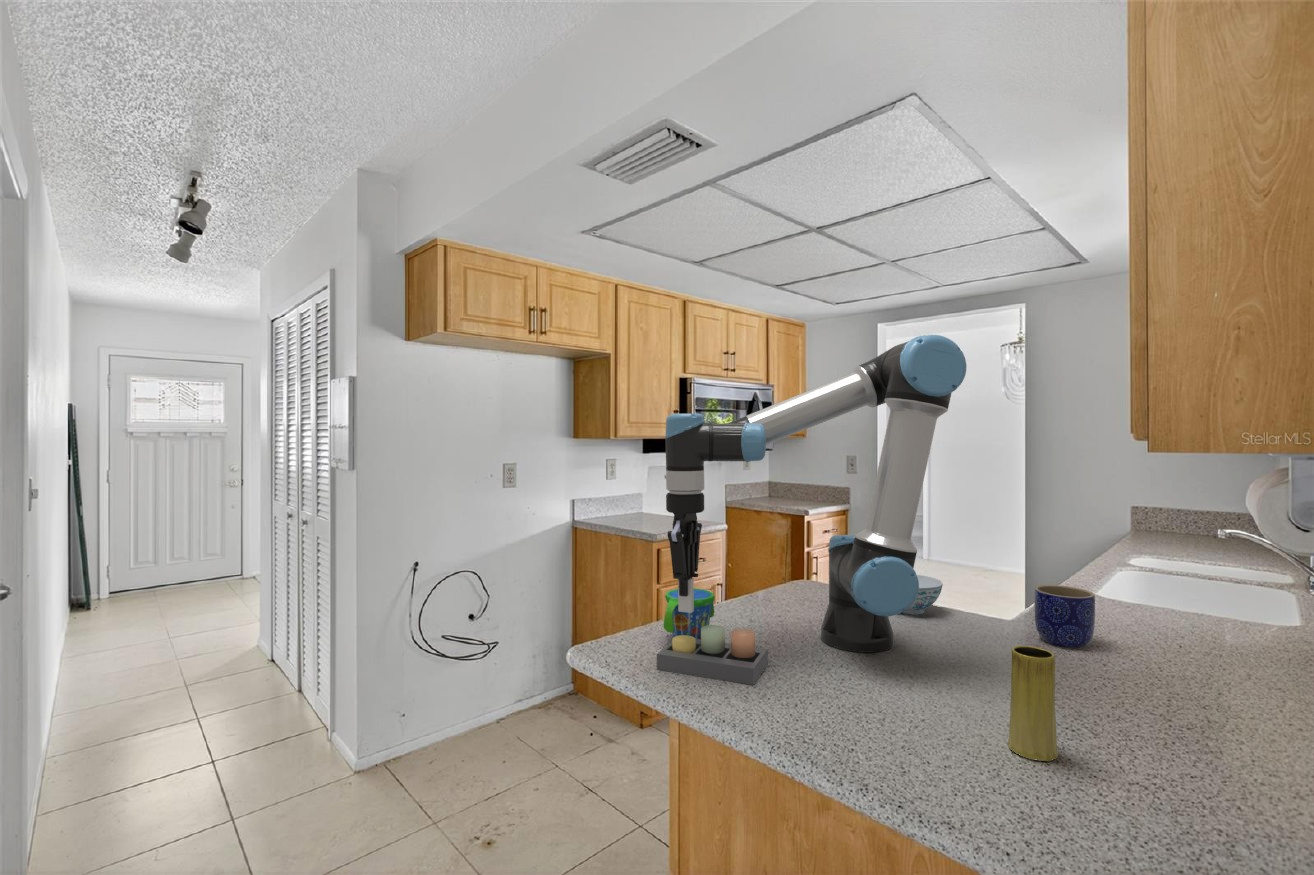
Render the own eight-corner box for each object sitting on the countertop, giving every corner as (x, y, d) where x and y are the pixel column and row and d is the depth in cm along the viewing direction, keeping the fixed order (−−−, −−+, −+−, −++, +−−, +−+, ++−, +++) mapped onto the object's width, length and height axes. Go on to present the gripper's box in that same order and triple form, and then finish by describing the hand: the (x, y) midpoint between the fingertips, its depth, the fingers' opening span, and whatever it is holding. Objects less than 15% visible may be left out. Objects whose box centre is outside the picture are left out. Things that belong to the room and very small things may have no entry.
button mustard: (698, 656, 125) (698, 637, 125) (690, 664, 121) (690, 644, 121) (677, 653, 127) (677, 634, 127) (668, 661, 123) (668, 641, 123)
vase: (1066, 754, 88) (1066, 653, 88) (1044, 767, 85) (1044, 662, 85) (1021, 736, 93) (1021, 641, 93) (999, 748, 90) (999, 649, 90)
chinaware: (872, 601, 167) (872, 572, 167) (931, 603, 165) (931, 574, 165) (887, 618, 152) (887, 587, 152) (951, 620, 151) (951, 588, 150)
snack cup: (696, 626, 147) (696, 583, 146) (731, 637, 139) (731, 591, 139) (647, 642, 136) (647, 595, 136) (682, 654, 128) (682, 605, 128)
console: (768, 664, 123) (768, 648, 123) (753, 685, 113) (753, 668, 113) (677, 650, 130) (677, 636, 130) (656, 669, 120) (656, 653, 120)
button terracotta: (757, 651, 120) (757, 630, 120) (751, 659, 116) (751, 638, 116) (734, 648, 122) (734, 627, 122) (727, 656, 118) (727, 634, 118)
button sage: (727, 647, 123) (727, 626, 123) (720, 654, 118) (720, 633, 118) (705, 644, 124) (705, 624, 124) (697, 651, 120) (697, 630, 120)
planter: (1101, 654, 127) (1101, 599, 127) (1039, 647, 131) (1039, 594, 131) (1087, 638, 138) (1087, 587, 137) (1030, 632, 142) (1030, 583, 141)
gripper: (679, 488, 131) (680, 600, 131) (654, 494, 119) (655, 618, 119) (713, 489, 128) (714, 604, 128) (691, 495, 116) (692, 622, 116)
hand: (686, 611), depth 124 cm, fingers closed
